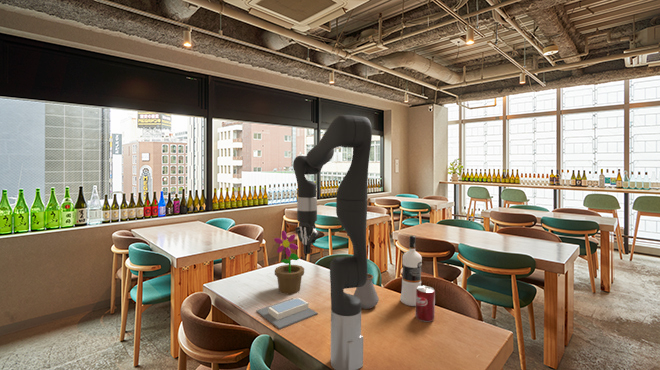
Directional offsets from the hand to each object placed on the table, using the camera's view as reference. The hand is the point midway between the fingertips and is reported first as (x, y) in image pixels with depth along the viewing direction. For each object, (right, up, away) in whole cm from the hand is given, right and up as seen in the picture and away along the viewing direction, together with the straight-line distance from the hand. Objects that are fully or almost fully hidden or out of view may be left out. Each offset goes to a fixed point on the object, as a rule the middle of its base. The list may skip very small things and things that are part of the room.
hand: (307, 253), depth 119 cm
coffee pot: (+20, -26, +19) cm, 38 cm away
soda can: (+47, -27, +6) cm, 54 cm away
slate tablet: (-14, -25, +4) cm, 29 cm away
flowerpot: (-11, -25, +32) cm, 42 cm away
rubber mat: (-9, -26, +9) cm, 29 cm away
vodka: (+45, -26, +20) cm, 56 cm away
